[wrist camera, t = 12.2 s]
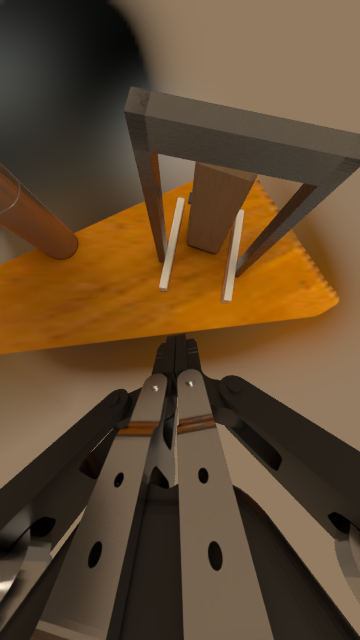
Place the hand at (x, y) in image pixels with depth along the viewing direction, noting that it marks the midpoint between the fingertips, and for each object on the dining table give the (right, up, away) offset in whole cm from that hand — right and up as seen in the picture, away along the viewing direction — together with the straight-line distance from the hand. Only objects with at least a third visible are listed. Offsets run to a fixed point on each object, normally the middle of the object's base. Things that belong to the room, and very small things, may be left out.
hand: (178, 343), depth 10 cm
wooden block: (+8, +28, +29) cm, 41 cm away
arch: (+6, +19, +28) cm, 34 cm away
